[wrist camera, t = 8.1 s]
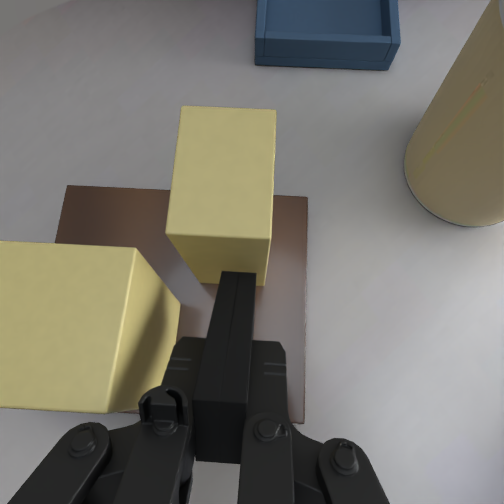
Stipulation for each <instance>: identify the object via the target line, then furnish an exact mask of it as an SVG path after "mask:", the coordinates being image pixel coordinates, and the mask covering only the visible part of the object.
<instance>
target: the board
mask: <svg viewBox="0 0 504 504" xmlns="http://www.w3.org/2000/svg"><path fill="white" fill-rule="evenodd" d="M170 191H171V190H156V189H135V188H115V187H95V186H74V185H67V188H66V193H65V198H64V202H63V207H62V212H61V216H60V221H59V226H58V230H57V235H56V240H55V243H56V244H75V245H94V246H113V247H132V248H137V250H138V251H139V252H140V253H141V255H142V256H143V257H144V258H145V260H146V261H147V262H148V263H149V265H150V266H151V267H152V268H153V270H154V271H155V272H156V273H157V275H158V276H159V277H160V278H161V280H162V281H163V282H164V284H165V285H166V286H167V287H168V289H169V290H170V291H171V292H172V294H173V295H174V296H175V297H176V299H177V300H178V301H179V302H180V304H181V305H180V313H179V321H178V329H177V336H176V343H177V342H178V341H179V340H180V339H181V338H182V337H183V336H185V337H201V338H206V337H207V332H208V328H209V324H210V319H211V315H212V311H213V307H214V302H215V298H216V294H217V289H218V285H219V284H214V283H200V282H199V281H198V280H197V278H196V277H195V275H194V274H193V272H192V271H191V270H190V268H189V267H188V265H187V264H186V262H185V261H184V260H183V258H182V257H181V255H180V254H179V252H178V251H177V249H176V248H175V247H174V245H173V244H172V242H171V241H170V239H169V238H168V237H167V235H166V233H165V231H166V223H167V215H168V207H169V199H170ZM307 211H308V198H307V197H299V196H278V195H273V212H272V236H271V244H270V251H269V258H268V265H267V271H266V278H265V285H264V286H256V296H255V316H254V333H253V340H263V341H279V342H280V343H281V345H282V346H283V348H284V350H285V352H286V368H287V392H288V413H289V418H290V420H291V423H297V424H304V415H305V347H306V279H307ZM117 413H133V414H140V413H139V409H137V410H130V411H123V412H117Z"/></svg>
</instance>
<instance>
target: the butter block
mask: <svg viewBox="0 0 504 504" xmlns="http://www.w3.org/2000/svg"><path fill="white" fill-rule="evenodd" d="M180 305H181V304H180V302H179V301H178V300H177V299H176V297H175V296H174V295H173V294H172V292H171V291H170V290H169V289H168V287H167V286H166V285H165V284H164V282H163V281H162V280H161V278H160V277H159V276H158V275H157V273H156V272H155V271H154V270H153V268H152V267H151V266H150V265H149V263H148V262H147V261H146V260H145V258H144V257H143V256H142V255H141V253H140V252H139V251H138V250H137V248H132V247H113V246H94V245H75V244H56V243H37V242H17V241H0V408H12V409H29V410H45V411H61V412H78V413H94V414H109V413H116V412H123V411H130V410H137V409H139V407H138V402H139V400H140V399H141V397H142V395H143V394H145V393H146V392H147V391H148V390H150V389H152V388H154V387H157V386H160V385H161V382H162V379H163V376H164V373H165V370H166V369H167V364H168V361H169V360H170V356H171V353H172V350H173V347H174V345H175V344H176V336H177V329H178V321H179V313H180Z"/></svg>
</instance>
